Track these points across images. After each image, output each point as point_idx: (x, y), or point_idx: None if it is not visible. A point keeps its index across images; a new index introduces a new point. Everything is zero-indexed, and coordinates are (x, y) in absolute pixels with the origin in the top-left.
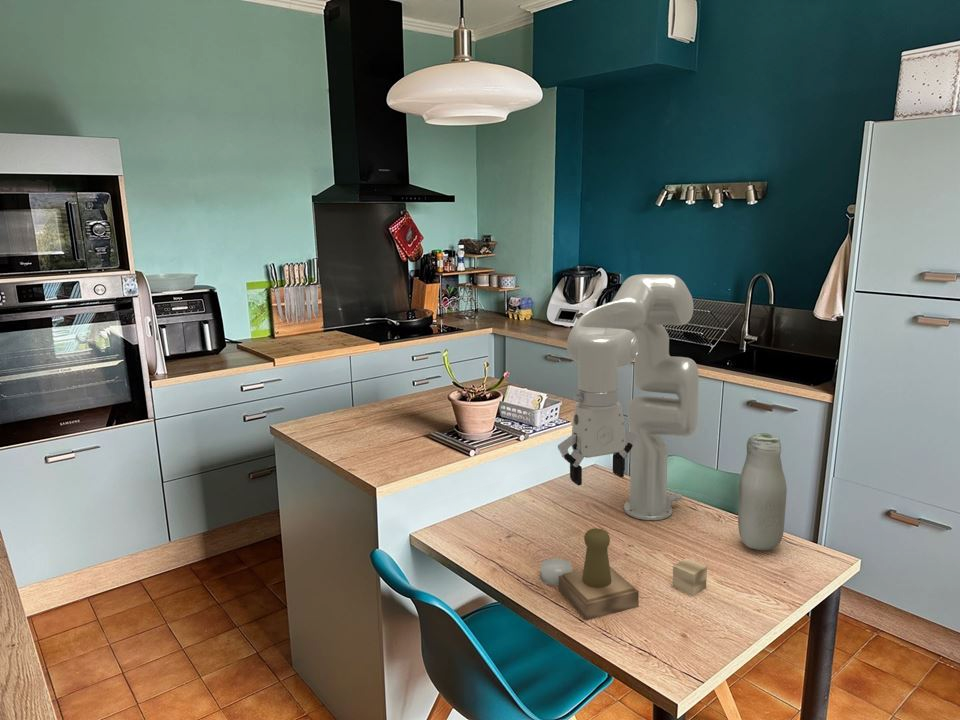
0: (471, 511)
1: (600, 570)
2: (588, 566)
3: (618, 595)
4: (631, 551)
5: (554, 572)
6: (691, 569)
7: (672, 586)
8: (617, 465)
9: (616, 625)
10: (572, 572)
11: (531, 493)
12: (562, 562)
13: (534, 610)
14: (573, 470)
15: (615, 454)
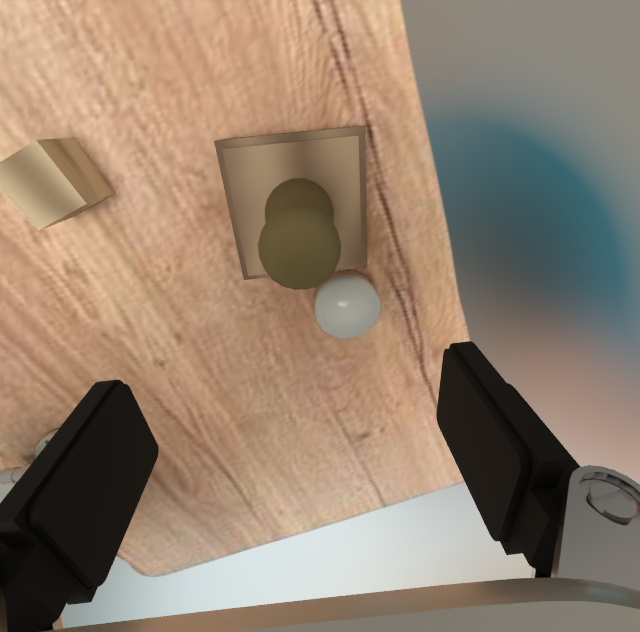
0: (386, 504)
1: (304, 191)
2: (329, 214)
3: (272, 139)
4: (164, 344)
5: (362, 290)
6: (36, 169)
7: (114, 192)
8: (104, 477)
9: (303, 77)
10: (338, 264)
11: (275, 530)
12: (330, 319)
13: (439, 201)
14: (559, 446)
15: (70, 599)
